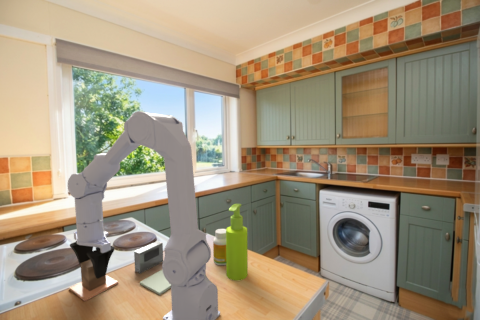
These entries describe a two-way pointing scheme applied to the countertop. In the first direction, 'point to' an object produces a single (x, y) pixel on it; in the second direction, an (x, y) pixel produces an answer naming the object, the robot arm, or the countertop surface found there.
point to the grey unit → (148, 256)
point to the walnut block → (90, 276)
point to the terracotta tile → (87, 294)
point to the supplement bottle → (219, 247)
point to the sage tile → (156, 283)
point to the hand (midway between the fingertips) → (93, 271)
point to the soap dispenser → (236, 246)
